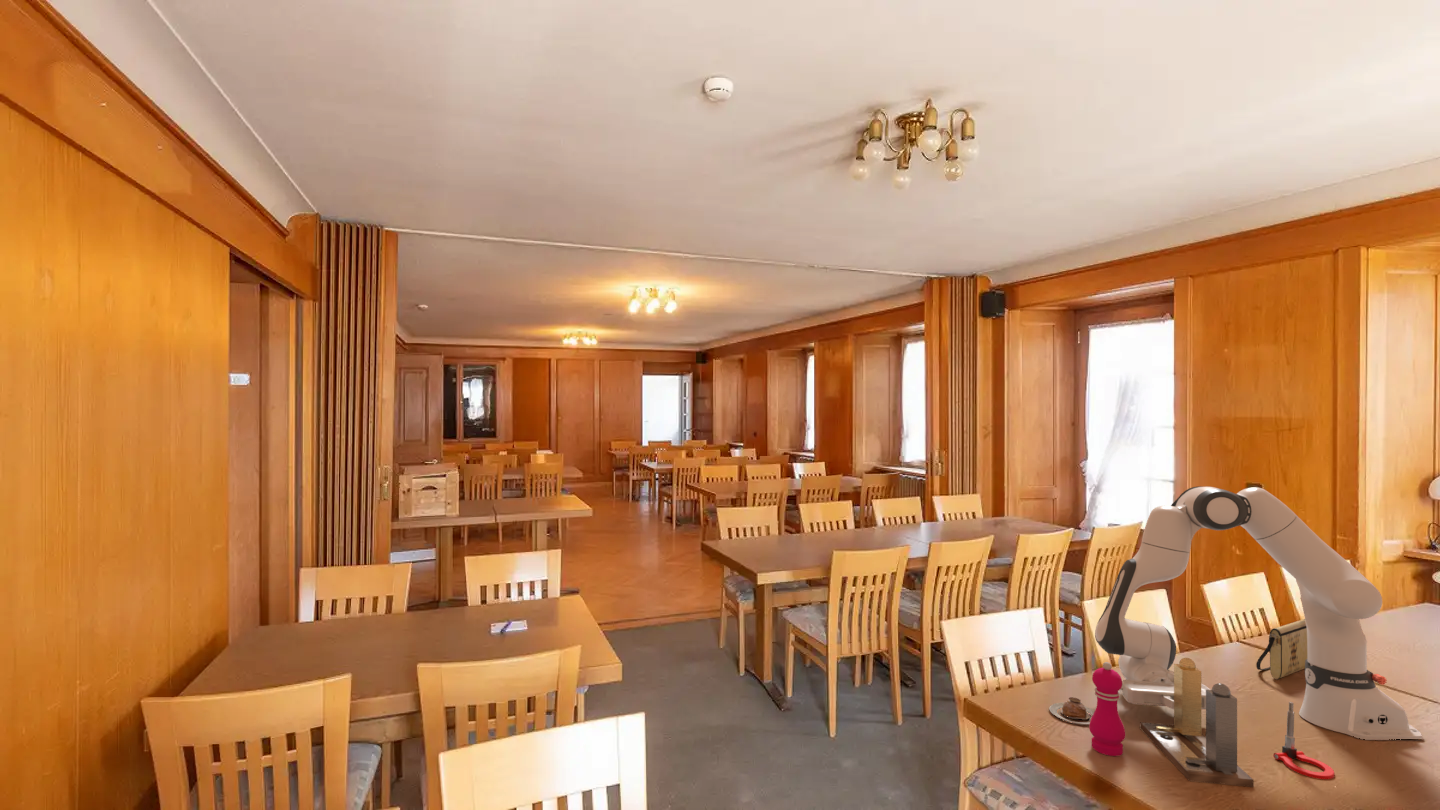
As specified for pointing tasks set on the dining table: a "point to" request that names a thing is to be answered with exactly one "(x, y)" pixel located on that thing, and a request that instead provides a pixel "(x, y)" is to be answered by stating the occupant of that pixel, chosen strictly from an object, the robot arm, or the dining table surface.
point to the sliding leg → (1186, 699)
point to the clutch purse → (1286, 649)
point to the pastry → (1072, 710)
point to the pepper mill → (1107, 712)
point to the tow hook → (1299, 753)
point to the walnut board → (1217, 776)
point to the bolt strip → (1179, 748)
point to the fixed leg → (1220, 730)
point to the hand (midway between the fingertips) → (1183, 708)
